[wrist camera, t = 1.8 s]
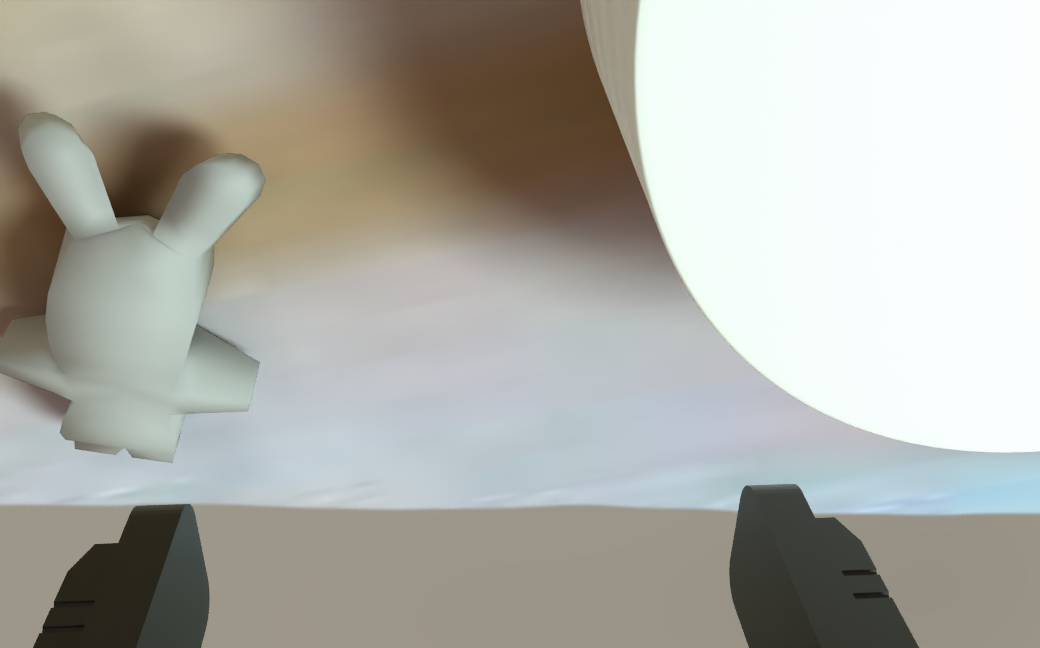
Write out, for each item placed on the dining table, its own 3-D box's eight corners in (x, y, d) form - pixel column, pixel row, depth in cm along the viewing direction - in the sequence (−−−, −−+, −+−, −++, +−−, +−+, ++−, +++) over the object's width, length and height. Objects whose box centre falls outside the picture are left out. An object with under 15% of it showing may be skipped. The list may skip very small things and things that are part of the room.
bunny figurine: (-13, 469, 38) (-46, 149, 29) (30, 377, 42) (13, 68, 32) (233, 503, 40) (278, 215, 31) (253, 412, 44) (299, 131, 35)
